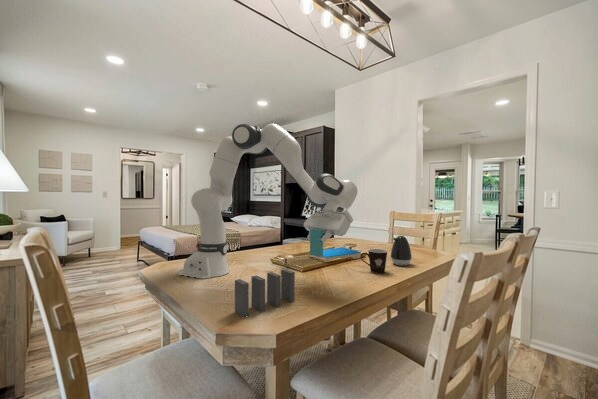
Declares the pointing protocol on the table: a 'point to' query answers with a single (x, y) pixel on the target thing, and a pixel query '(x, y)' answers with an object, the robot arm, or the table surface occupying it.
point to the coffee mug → (376, 260)
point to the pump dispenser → (401, 251)
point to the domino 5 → (316, 242)
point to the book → (338, 253)
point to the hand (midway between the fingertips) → (315, 240)
